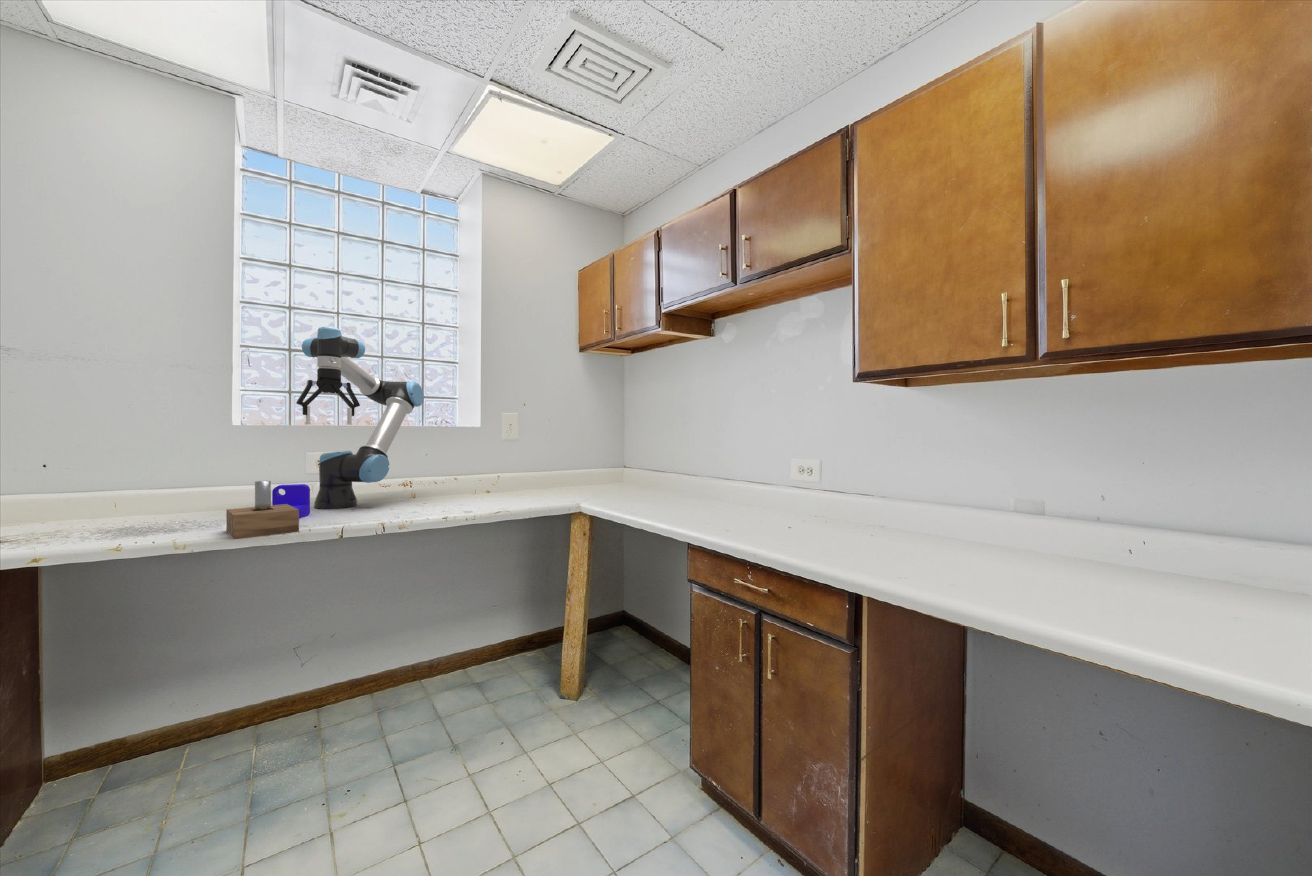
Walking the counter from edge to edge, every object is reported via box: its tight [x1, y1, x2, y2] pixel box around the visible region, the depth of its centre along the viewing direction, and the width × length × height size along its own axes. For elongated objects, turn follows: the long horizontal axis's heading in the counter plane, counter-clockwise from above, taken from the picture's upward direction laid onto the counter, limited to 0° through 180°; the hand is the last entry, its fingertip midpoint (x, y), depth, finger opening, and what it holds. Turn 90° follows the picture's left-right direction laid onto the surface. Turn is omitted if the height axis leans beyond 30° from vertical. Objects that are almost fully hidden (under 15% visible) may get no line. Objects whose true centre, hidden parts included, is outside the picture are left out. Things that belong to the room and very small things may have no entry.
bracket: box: [271, 483, 311, 520], centre depth 181 cm, size 18×11×12 cm, turn 27°
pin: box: [254, 480, 272, 511], centre depth 159 cm, size 4×4×14 cm
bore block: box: [225, 504, 300, 540], centre depth 159 cm, size 16×16×7 cm
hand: (329, 424), depth 188 cm, fingers open, 13 cm apart
